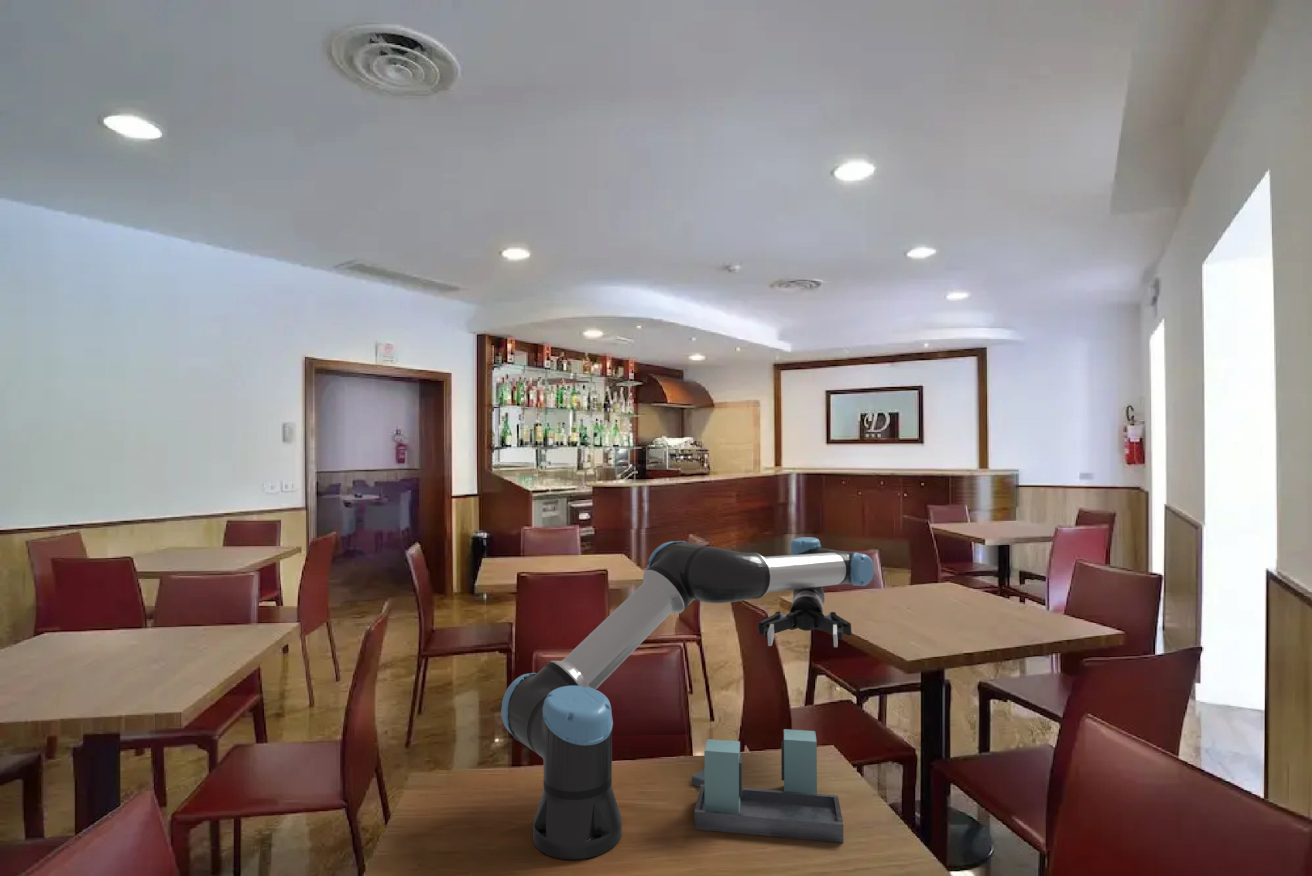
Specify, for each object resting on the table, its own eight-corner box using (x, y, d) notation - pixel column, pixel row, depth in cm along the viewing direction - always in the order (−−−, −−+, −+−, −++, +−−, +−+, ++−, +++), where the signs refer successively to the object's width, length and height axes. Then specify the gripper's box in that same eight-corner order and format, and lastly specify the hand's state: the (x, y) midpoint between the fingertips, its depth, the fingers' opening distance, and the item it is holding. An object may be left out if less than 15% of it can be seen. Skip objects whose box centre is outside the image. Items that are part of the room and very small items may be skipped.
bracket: (690, 786, 135) (690, 775, 135) (718, 766, 143) (718, 757, 143) (707, 792, 132) (707, 781, 132) (734, 771, 141) (734, 762, 141)
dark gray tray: (694, 829, 118) (694, 811, 118) (700, 800, 128) (700, 784, 128) (843, 842, 114) (843, 824, 114) (838, 811, 124) (837, 795, 124)
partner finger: (704, 813, 121) (704, 750, 121) (707, 799, 125) (707, 739, 126) (741, 816, 119) (741, 753, 120) (743, 802, 124) (742, 741, 125)
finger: (781, 798, 129) (781, 739, 129) (781, 785, 134) (781, 728, 134) (817, 800, 128) (816, 741, 128) (815, 788, 133) (815, 731, 133)
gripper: (861, 626, 161) (864, 659, 141) (755, 625, 168) (744, 656, 147) (859, 595, 161) (862, 622, 141) (753, 595, 168) (741, 621, 147)
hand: (802, 640), depth 144 cm, fingers open, 13 cm apart
